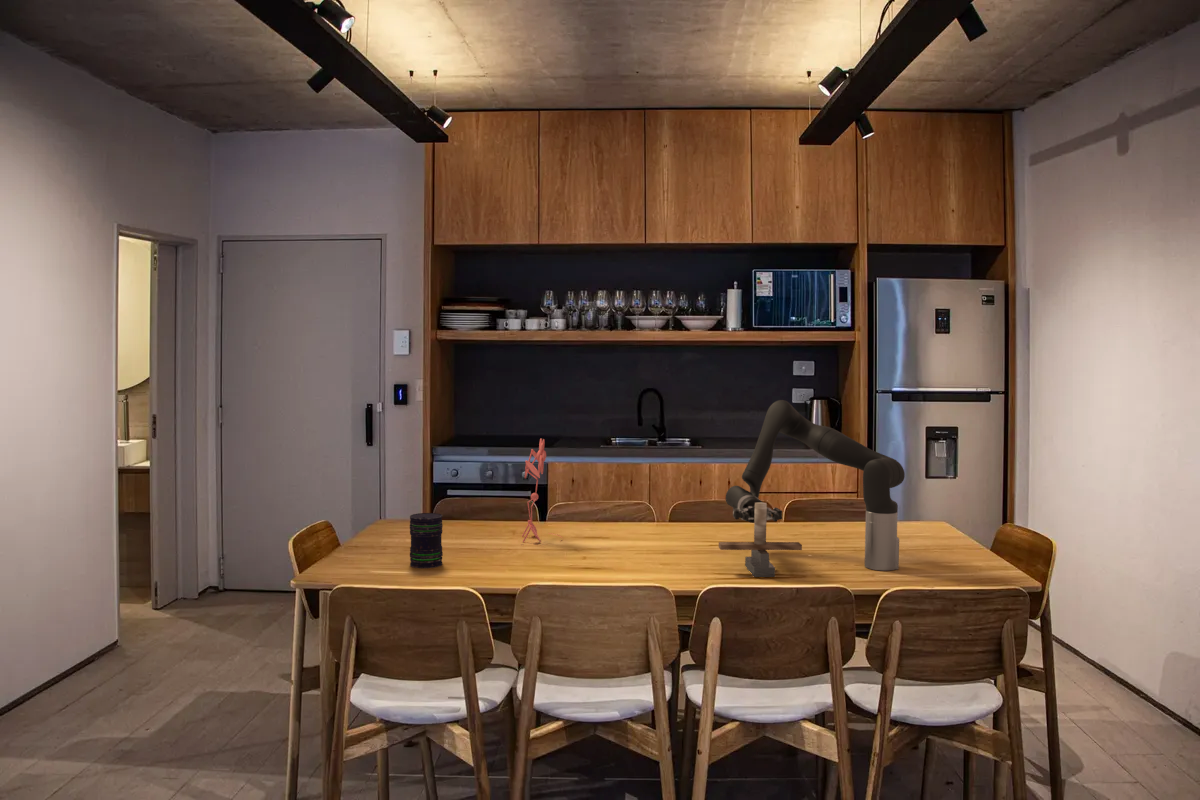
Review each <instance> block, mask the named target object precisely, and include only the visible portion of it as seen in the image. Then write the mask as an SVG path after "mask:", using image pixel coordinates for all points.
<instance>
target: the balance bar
mask: <svg viewBox="0 0 1200 800" xmlns="http://www.w3.org/2000/svg"><path fill="white" fill-rule="evenodd" d="M762 502H763V501H762ZM762 502H757V503H755V516H754V523H753V524H754V525H753V529H754V530H753V531H754V532H753V541H719V542H718V548H719V550H721V551H750V550H766V551H802V550H803V545H802V544H801V543H800V542H799V541H792V542H790V541H784V542H783V541H767V520H766V517H767V516H766V515H767V508H768V506H767V504H768V503H767V502H763V503H762Z"/></svg>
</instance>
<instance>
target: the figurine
mask: <svg viewBox="0 0 1200 800" xmlns="http://www.w3.org/2000/svg"><path fill="white" fill-rule="evenodd" d="M545 444H546V443H545V439H544V438H540V439H539V444H538V445H539V446H538V451H537V452H536V451H535V449H533V448H531V449H530V454H529V457H528V460H527V459H526V460H525V461H524V462H525V466H524V467H525V468H524V479H527V476H528V474H529V475H530V476H532V477H533V478H534V479H535V480H536V485H535V492H533V493H531V495H530V500H528V501H527V508H528V509H527V510H528V516H529V519H527V525H526V528H525V529H524V531H523V533H522V535H521V537H522V538H523V539H522V542H523V543H525V541H526V539H527V537H528V536H529V533H530V532H532V533H533V535H534V536H535V538H536V539H537V541H539V543H542V541H541V539H540V536H539V535H538V529H537V527H536V525H535V524H534V522H533V506H534V504H535V502H536V501H538V499H539V494H538V493H537V491H538V483H539V479H540V478H541V475H543V474H544V463H545V461H546V459H547V451H546V450H545ZM532 456H533V457H534V459H533V461H532V462H530V461H531V459H532ZM536 461H537V463H538V465H537V467H538V469H537V468H536V467H535V465H534V463H535V462H536ZM540 474H541V475H540ZM531 501H533V502H532V504H531V506H530V502H531ZM548 534H550V535H554V536H558V537H560V538H562V536H561V535H560V534H555V533H550V532H548ZM559 541H560V543H561V542H562V540H559ZM523 543H522V544H520V545H521V546H523Z"/></svg>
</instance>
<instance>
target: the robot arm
mask: <svg viewBox="0 0 1200 800" xmlns="http://www.w3.org/2000/svg"><path fill="white" fill-rule="evenodd" d="M779 433H780V434H783V435H785V436H787V437H790V438H793V439H794V440H797V441H800V442H801V443H803V444H804V445H806V446H807V447H808V448H810V449H812V450H813V451H814V452H816V453H817V454H819V455H821V456H823V457H824V458H826V459H828V460H829V461H832V462H833V463H837V464H841V465H843V466H848V467H851V468H855V469H858V470H861V471H863V472H862V493H863V495H862V496H863V502H864V504H865V526H864V527H865V536H864V567H865V568H867V569H869V570H874V571H875V570H876V571H894V570H899V567H900V564H899V563H900V538H899V537H898V512H899V511H898V509H899V508H898V506H899V505H898V503H897V502H896V501H894V500H893V499H892V498H891V489H892V488H895V487H898V486H900V485H901V484H902V483H903V482H904V480H905V478H906V477H905V476H906V475H905V469H904V467H903V465H902V464H901V463H900V462H899V460H896V459H894V458H893V457H890V456H888V455H885V454H883V453H880V452H877V451H875V450H872V449H871V448H868V447H867V446H865V445H863V444H862V443H860V442H858V441H856V440H855V439H853V438H851V437H849V436H847V435H845V434H844V433H843V432H840V431H839V430H836V429H835V428H832V427H831V426H830V427H829V426H826V425H820V424H819V425H818V424H815V423H813V422H812V421H810V420H809V419H807V418H806V417H804V416H803V415H802V414H800V412H798V410H796V408H795V407H793V405H792V404H791V403H790V402H789V401H787V400H785V399H784V400H783V399H778V400H775V401H774V402H773V403H771V404H770V406H769V407H768V409H767V411H766V415H765V417H764V420H763V423H762V426H761V431H760V432H759V436H758V439H757V441H756V445H755V448H754V450H753V453H752V454H751V457H750V458H749V460H748V462H747V463H746V467H744V471H743V473H742V474H741V479H742V481H743V482H744V483H745V484H746V485H748V487H749V490H747V489H745V488H743V487H741V486H740V485H733V486H731V487H729V488H728V489H727V491H726V493H725V503H726V504H727V505H728V506H730V507H731V508H732V517H733V518H734V520H739V519H740V520H743V521H744V522H749V523H753V524H754V516H755V503H757V502H762V503H764V502H763V501H762V500H761V499H760V498H759V497H760V491H761V489H762V485H763V482H764V480H765V478H766V477H767V474H768V472H769V470H770V468H771V464H772V461H773V454H774V449H775V444H776V440H777V436H778V435H779ZM771 520H772V521H773V522H778V521H779V520H783V510H781V509H780V508H778V507H773V509H772V508H770V507H767V515H766V521H771Z"/></svg>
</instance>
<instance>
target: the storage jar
mask: <svg viewBox="0 0 1200 800" xmlns="http://www.w3.org/2000/svg"><path fill="white" fill-rule="evenodd" d="M442 519H443V514H440V513H435V512H422V513H421V512H420V513H413V514H411V515H409V535H410V547H409V560H410V563H409V566H410V567H412V568H415V569H433V568H438V567H441V566H443V555H444V553H443V545H442V534H443V525H444V524H443V520H442Z"/></svg>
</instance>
